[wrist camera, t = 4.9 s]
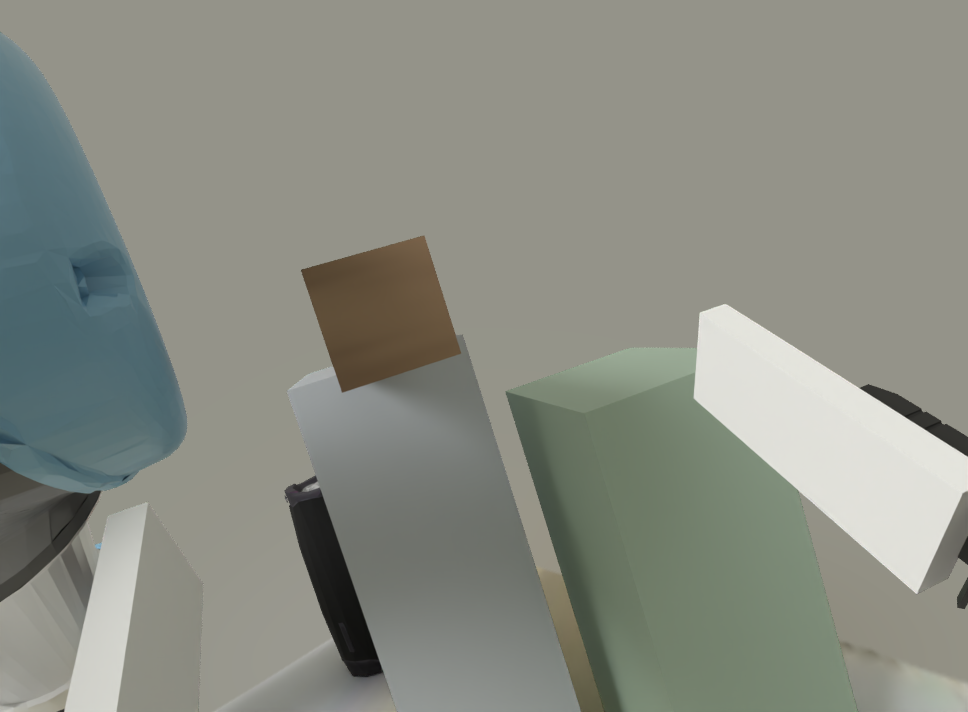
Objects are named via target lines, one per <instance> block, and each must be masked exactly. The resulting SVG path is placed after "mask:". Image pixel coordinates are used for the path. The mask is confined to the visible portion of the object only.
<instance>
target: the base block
mask: <svg viewBox="0 0 968 712" xmlns="http://www.w3.org/2000/svg"><path fill="white" fill-rule="evenodd" d="M696 359H697V348H628V349H625V350H623V351H620V352H617V353H614V354H611V355H609V356H605V357H602V358H600V359H597V360H594V361H591V362H588V363H585V364H583V365H580V366H577V367H574V368H571V369H568V370H565V371H562V372H559V373H557V374H554V375H551V376H548V377H545V378H542V379H539V380H537V381H534V382H531V383H528V384H525V385H523V386H520V387H517V388H514V389H511V390H508V391H506V395H507V398H508V402H509V405H510V408H511V411H512V414H513V418H514V421H515V424H516V427H517V431H518V434H519V437H520V440H521V443H522V447H523V450H524V453H525V456H526V460H527V463H528V466H529V469H530V472H531V476H532V479H533V482H534V485H535V488H536V491H537V495H538V498H539V501H540V505H541V508H542V511H543V514H544V518H545V520H546V524H547V527H548V530H549V534H550V537H551V540H552V543H553V546H554V550H555V553H556V556H557V559H558V563H559V566H560V569H561V572H562V576H563V579H564V582H565V585H566V588H567V592H568V595H569V598H570V601H571V605H572V608H573V611H574V614H575V617H576V621H577V624H578V627H579V630H580V634H581V637H582V640H583V643H584V646H585V650H586V653H587V656H588V659H589V663H590V666H591V669H592V672H593V675H594V679H595V682H596V685H597V688H598V692H599V695H600V698H601V701H602V704H603V708H604V711H605V712H858V711H857V707H856V703H855V699H854V696H853V692H852V688H851V685H850V681H849V677H848V673H847V670H846V666H845V662H844V659H843V655H842V651H841V648H840V644H839V640H838V636H837V633H836V629H835V625H834V622H833V618H832V614H831V610H830V607H829V603H828V600H827V596H826V592H825V588H824V585H823V581H822V577H821V573H820V570H819V566H818V562H817V559H816V555H815V551H814V548H813V544H812V540H811V537H810V533H809V529H808V525H807V522H806V518H805V514H804V511H803V507H802V503H801V499H800V496H799V492H798V490H797V489H796V488H795V487H794V486H793V485H792V484H790V483H789V482H788V481H787V480H786V479H785V478H784V477H782V476H781V475H780V474H779V473H778V472H777V471H776V470H775V469H773V468H772V467H771V466H770V465H769V464H768V463H767V462H765V461H764V460H763V459H762V458H761V457H760V456H759V455H757V454H756V453H755V452H754V451H753V450H752V449H751V448H749V447H748V446H747V445H746V444H745V443H744V442H743V441H741V440H740V439H739V438H738V437H737V436H736V435H735V434H734V433H732V432H731V431H730V430H729V429H728V428H727V427H726V426H724V425H723V424H722V423H721V422H720V421H719V420H718V419H716V418H715V417H714V416H713V415H712V414H711V413H710V412H708V411H707V410H706V409H705V408H704V407H703V406H702V405H700V404H699V403H698V402H697V401H696V400H695V399H694V385H695V372H696Z"/></svg>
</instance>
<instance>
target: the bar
mask: <svg viewBox="0 0 968 712" xmlns="http://www.w3.org/2000/svg"><path fill="white" fill-rule="evenodd" d="M301 272H302V275H303V278H304V281H305V284H306V287H307V290H308V292H309V295H310V299H311V301H312V305H313V307H314V311H315V313H316V316H317V319H318V322H319V325H320V328H321V331H322V334H323V337H324V340H325V343H326V346H327V349H328V352H329V355H330V358H331V361H332V364H333V367H334V370H335V373H336V376H337V379H338V382H339V385H340V388H341V391H342V393H343V392H346V391H349V390H352V389H355V388H358V387H362V386H365V385H368V384H371V383H374V382H377V381H380V380H383V379H386V378H389V377H392V376H395V375H398V374H401V373H404V372H407V371H410V370H413V369H416V368H419V367H422V366H425V365H428V364H431V363H434V362H438V361H441V360H444V359H447V358H450V357H453V356H456V355H459V354H461V351H460V347H459V344H458V341H457V338H456V335H455V332H454V328H453V326H452V322H451V319H450V316H449V313H448V309H447V306H446V303H445V300H444V297H443V294H442V290H441V287H440V284H439V281H438V278H437V274H436V271H435V268H434V265H433V262H432V259H431V255H430V252H429V249H428V246H427V243H426V240H425V237H424V236H420V237H417V238H413V239H410V240H406V241H402V242H399V243H396V244H392V245H388V246H385V247H381V248H378V249H374V250H371V251H367V252H363V253H360V254H356V255H352V256H349V257H345V258H342V259H338V260H334V261H331V262H328V263H324V264H320V265H317V266H313V267H310V268H306V269H302V270H301Z"/></svg>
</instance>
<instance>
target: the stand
mask: <svg viewBox="0 0 968 712" xmlns="http://www.w3.org/2000/svg"><path fill="white" fill-rule="evenodd" d="M456 338H457V341H458V344H459V347H460V351H461V354H459V355H456V356H453V357H450V358H447V359H444V360H441V361H438V362H434V363H431V364H428V365H425V366H422V367H419V368H416V369H413V370H410V371H407V372H404V373H401V374H398V375H395V376H392V377H389V378H386V379H383V380H380V381H377V382H374V383H371V384H368V385H365V386H362V387H358V388H355V389H352V390H349V391H346V392H343V393H342V391H341V388H340V385H339V382H338V379H337V376H336V373H335V370H334V367H333V366H332V367H328V368H326V369H322V370H319V371H316V372H313V373H310V374H308V375H306V376H305V377H304V378H302V379H301V380H300V381H299V382H298V383H296V384H295V385H294V386H293V387H291V388H290V389H289V390H288V391H287V393H288V396H289V399H290V401H291V405H292V407H293V410H294V413H295V416H296V419H297V422H298V425H299V428H300V431H301V434H302V436H303V439H304V442H305V445H306V448H307V451H308V454H309V457H310V460H311V463H312V465H313V469H314V471H315V474H316V477H317V480H318V483H319V486H320V489H321V492H322V495H323V498H324V501H325V504H326V506H327V509H328V512H329V515H330V518H331V521H332V524H333V527H334V530H335V533H336V536H337V538H338V541H339V544H340V547H341V550H342V553H343V556H344V559H345V562H346V565H347V568H348V570H349V573H350V576H351V579H352V582H353V585H354V588H355V591H356V594H357V597H358V600H359V602H360V605H361V608H362V611H363V614H364V617H365V620H366V623H367V626H368V629H369V632H370V634H371V637H372V640H373V643H374V646H375V649H376V652H377V655H378V658H379V661H380V664H381V666H382V669H383V672H384V675H385V678H386V681H387V684H388V687H389V690H390V693H391V696H392V698H393V701H394V704H395V707H396V710H397V712H581V710H580V706H579V703H578V700H577V697H576V694H575V690H574V687H573V684H572V681H571V678H570V675H569V671H568V668H567V665H566V662H565V659H564V655H563V652H562V649H561V646H560V643H559V640H558V636H557V633H556V630H555V627H554V624H553V620H552V617H551V614H550V611H549V608H548V605H547V601H546V598H545V595H544V592H543V589H542V585H541V582H540V579H539V576H538V573H537V570H536V566H535V563H534V560H533V557H532V554H531V550H530V547H529V544H528V541H527V538H526V534H525V531H524V529H523V525H522V522H521V519H520V515H519V513H518V509H517V506H516V503H515V500H514V496H513V493H512V490H511V487H510V484H509V480H508V477H507V474H506V471H505V468H504V464H503V461H502V458H501V455H500V452H499V449H498V445H497V442H496V439H495V436H494V433H493V430H492V427H491V423H490V420H489V417H488V414H487V410H486V407H485V404H484V401H483V398H482V395H481V391H480V388H479V385H478V382H477V379H476V376H475V372H474V369H473V366H472V363H471V359H470V356H469V353H468V350H467V347H466V344H465V340H464V337H463V335H456Z"/></svg>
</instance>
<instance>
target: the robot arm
mask: <svg viewBox="0 0 968 712" xmlns="http://www.w3.org/2000/svg"><path fill="white" fill-rule="evenodd" d="M694 399H695V400H696V401H697V402H698V403H699V404H700V405H702V406H703V407H704V408H705V409H706V410H707V411H708V412H710V413H711V414H712V415H713V416H714V417H715V418H716V419H718V420H719V421H720V422H721V423H722V424H723V425H724V426H726V427H727V428H728V429H729V430H730V431H731V432H732V433H734V434H735V435H736V436H737V437H738V438H739V439H740V440H741V441H743V442H744V443H745V444H746V445H747V446H748V447H749V448H751V449H752V450H753V451H754V452H755V453H756V454H757V455H759V456H760V457H761V458H762V459H763V460H764V461H765V462H767V463H768V464H769V465H770V466H771V467H772V468H773V469H775V470H776V471H777V472H778V473H779V474H780V475H781V476H782V477H784V478H785V479H786V480H787V481H788V482H789V483H790V484H792V485H793V486H794V487H795V488H796V489H797V490H798V491H800V492H801V493H802V494H803V495H804V496H805V497H806V498H808V499H809V500H810V501H811V502H812V503H814V505H816V506H817V507H818V508H819V509H820V510H822V512H824V513H825V514H826V515H827V516H828V517H829V518H830V519H831V520H833V521H834V522H835V523H836V524H837V525H838V526H839V527H841V528H842V529H843V530H844V531H845V532H846V533H848V534H849V535H850V536H851V537H852V538H853V539H854V540H855V541H857V542H858V543H859V544H860V545H861V546H862V547H863V548H865V549H866V550H867V551H868V552H869V553H870V554H871V555H872V556H874V557H875V558H876V559H877V560H878V561H879V562H880V563H882V564H883V565H884V566H885V567H886V568H887V569H888V570H890V571H891V572H892V573H893V574H894V575H895V576H897V577H898V578H899V579H900V580H901V581H902V582H903V583H904V584H905V585H907V586H908V587H909V588H910V589H911V590H913V591H914V592H915V593H916V594H918V593H920V592H922V591H924V590H926V589H928V588H930V587H932V586H934V585H936V584H938V583H940V582H942V581H944V580H946V579H948V578H949V576H950V573H951V572H952V569H953V567H954V565H955V563H956V561H957V559H958V558H960V559H961V560H962V561H964V562H965V563H966V564H967V565H968V437H967V436H965V435H964V434H962V433H961V432H959V431H957V430H956V429H954V428H952V427H951V426H949V425H947V424H945V425H944V424H942V423H941V420H939V419H937V418H936V417H934V416H932V415H931V414H929V413H927V412H922V410H921V408H919V407H918V406H916V405H914V404H913V403H911V402H909V401H908V400H906V399H904V398H903V397H901V396H899V395H898V394H895V393H892V392H889V391H886V390H884V389H881V388H878V387H875V386H872V385H869V384H868V385H866V386H863V387H861V388H858V387H856V386H855V385H853V384H852V383H850V382H849V381H847V380H845V379H843V378H842V377H840V376H839V375H837V374H836V373H834V372H833V371H831V370H830V369H828V368H826V367H825V366H823V365H822V364H820V363H818V362H817V361H815V360H814V359H812V358H811V357H809V356H807V355H806V354H804V353H803V352H801V351H800V350H798V349H796V348H795V347H793V346H792V345H790V344H788V343H787V342H785V341H784V340H782V339H781V338H779V337H777V336H776V335H774V334H773V333H771V332H769V331H768V330H766V329H765V328H763V327H762V326H760V325H758V324H757V323H755V322H754V321H752V320H751V319H749V318H747V317H746V316H744V315H743V314H741V313H739V312H738V311H736V310H735V309H733V308H732V307H730V306H728V305H727V304H724V305H721V306H719V307H715V308H712V309H710V310H707V311H704V312H701V313H700V318H699V333H698V345H697V359H696V372H695V385H694ZM186 432H187V416H186V411H185V407H184V402H183V398H182V395H181V392H180V388H179V385H178V381H177V378H176V376H175V373H174V370H173V367H172V364H171V361H170V358H169V356H168V353H167V350H166V347H165V344H164V342H163V339H162V336H161V334H160V331H159V328H158V326H157V323H156V320H155V318H154V315H153V313H152V310H151V307H150V305H149V302H148V300H147V297H146V295H145V292H144V290H143V288H142V285H141V283H140V280H139V278H138V275H137V273H136V270H135V268H134V265H133V263H132V260H131V258H130V256H129V253H128V251H127V248H126V246H125V244H124V241H123V239H122V236H121V234H120V232H119V230H118V228H117V225H116V223H115V221H114V218H113V216H112V214H111V211H110V209H109V207H108V204H107V202H106V200H105V197H104V195H103V193H102V191H101V188H100V186H99V184H98V181H97V179H96V177H95V175H94V173H93V170H92V168H91V167H90V164H89V162H88V160H87V158H86V155H85V153H84V151H83V149H82V147H81V145H80V143H79V141H78V139H77V136H76V134H75V132H74V130H73V128H72V126H71V124H70V122H69V120H68V118H67V116H66V114H65V112H64V110H63V108H62V107H61V105H60V103H59V101H58V99H57V97H56V95H55V93H54V92H53V90H52V88H51V87H50V85H49V84H48V82H47V80H46V79H45V77H44V75H43V74H42V73H41V71H40V70H39V69H38V67H37V66H36V65H35V63H34V62H33V61H32V60H31V59H30V57H28V55H27V54H26V53H25V52H24V51H23V50H22V49H21V48H20V47H19V46H18V45H17V44H16V43H14V42H13V41H12V40H11V39H9V38H8V37H7V36H5V35H4V34H3V33H1V32H0V712H199V684H200V659H201V633H202V606H203V582H202V581H201V579H200V578H199V576H198V575H197V573H196V572H195V570H194V569H193V568H192V566H191V565H190V563H189V562H188V560H187V559H186V557H185V556H184V554H183V553H182V551H181V550H180V548H179V547H178V545H177V544H176V543H175V541H174V540H173V538H172V537H171V535H170V534H169V532H168V531H167V529H166V528H165V526H164V525H163V524H162V522H161V520H160V519H159V517H158V516H157V515H156V513H155V512H154V510H153V509H152V507H151V506H150V504H149V503H148V502H147V503H144V504H141V505H138V506H135V507H132V508H129V509H126V510H124V511H120V512H117V513H115V514H111V515H109V516H108V517H107V522H106V526H105V531H104V535H103V540H102V543H100V544H94V540H93V537H92V534H91V530H90V527H89V523H88V519H89V517H90V516H91V514H92V512H93V510H94V509H95V507H96V505H97V503H98V502H99V499H100V497H101V494H102V492H103V491H106V490H110V489H113V488H116V487H118V486H120V485H123V484H125V483H127V482H128V481H129V480H131V479H132V478H133V477H134V476H135V475H136V474H137V473H138V472H139V471H140V470H142V469H144V468H146V467H148V466H150V465H152V464H154V463H157V462H159V461H161V460H163V459H165V458H167V457H168V456H170V455H171V454H172V453H173V452H174V451H175V450H177V449H178V447H179V446H180V444H181V443H182V442H183V440H184V438H185V435H186ZM967 603H968V578H967V580H966V582H965V584H964V585H963V588H962V589H961V591H960V593H959V595H958V597H957V607H958V608H962V609H965V607H966V605H967Z"/></svg>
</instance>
